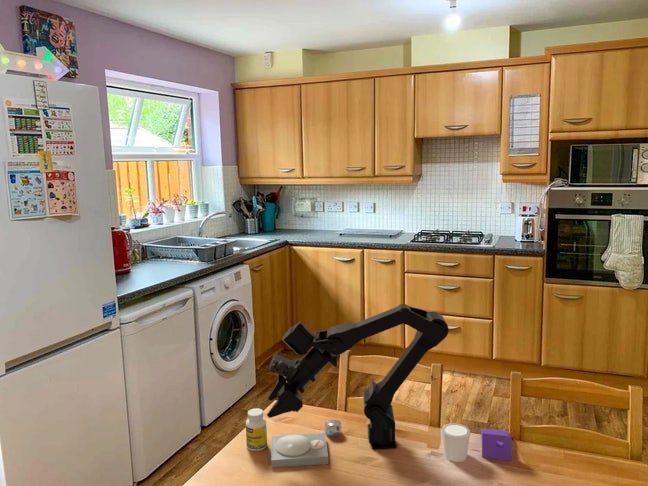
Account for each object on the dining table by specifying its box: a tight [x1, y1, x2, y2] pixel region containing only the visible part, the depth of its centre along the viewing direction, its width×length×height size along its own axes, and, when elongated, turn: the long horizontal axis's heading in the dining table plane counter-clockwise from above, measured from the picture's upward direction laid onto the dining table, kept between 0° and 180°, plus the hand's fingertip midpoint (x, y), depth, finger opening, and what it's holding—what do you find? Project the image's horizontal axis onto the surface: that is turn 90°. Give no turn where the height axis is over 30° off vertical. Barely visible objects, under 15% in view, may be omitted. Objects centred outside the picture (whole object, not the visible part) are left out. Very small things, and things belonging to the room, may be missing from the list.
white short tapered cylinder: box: [441, 422, 471, 463], centre depth 133 cm, size 7×7×7 cm
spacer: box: [324, 418, 342, 439], centre depth 145 cm, size 4×4×3 cm
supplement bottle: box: [245, 407, 268, 452], centre depth 139 cm, size 5×5×10 cm
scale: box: [270, 432, 329, 469], centre depth 136 cm, size 14×11×3 cm
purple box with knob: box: [480, 427, 513, 462], centre depth 136 cm, size 12×7×7 cm, turn 165°
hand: (268, 407), depth 138 cm, fingers open, 9 cm apart
